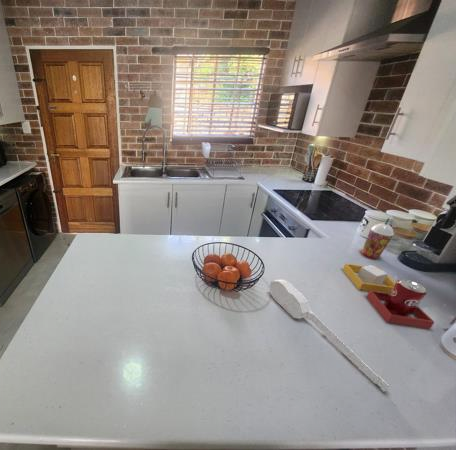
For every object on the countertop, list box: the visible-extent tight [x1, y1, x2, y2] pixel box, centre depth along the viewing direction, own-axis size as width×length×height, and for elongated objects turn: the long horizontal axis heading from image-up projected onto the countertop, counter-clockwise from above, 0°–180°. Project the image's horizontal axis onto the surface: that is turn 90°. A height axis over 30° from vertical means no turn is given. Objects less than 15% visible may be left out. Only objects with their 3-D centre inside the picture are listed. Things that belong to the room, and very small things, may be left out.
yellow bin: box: [342, 263, 396, 293], centre depth 100 cm, size 13×13×4 cm
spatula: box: [268, 279, 390, 393], centre depth 75 cm, size 38×8×4 cm
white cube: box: [356, 264, 388, 285], centre depth 99 cm, size 6×6×6 cm
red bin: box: [365, 291, 435, 330], centre depth 85 cm, size 12×12×4 cm
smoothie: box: [361, 218, 395, 260], centre depth 115 cm, size 8×8×20 cm
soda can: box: [382, 278, 427, 317], centre depth 83 cm, size 7×7×12 cm
